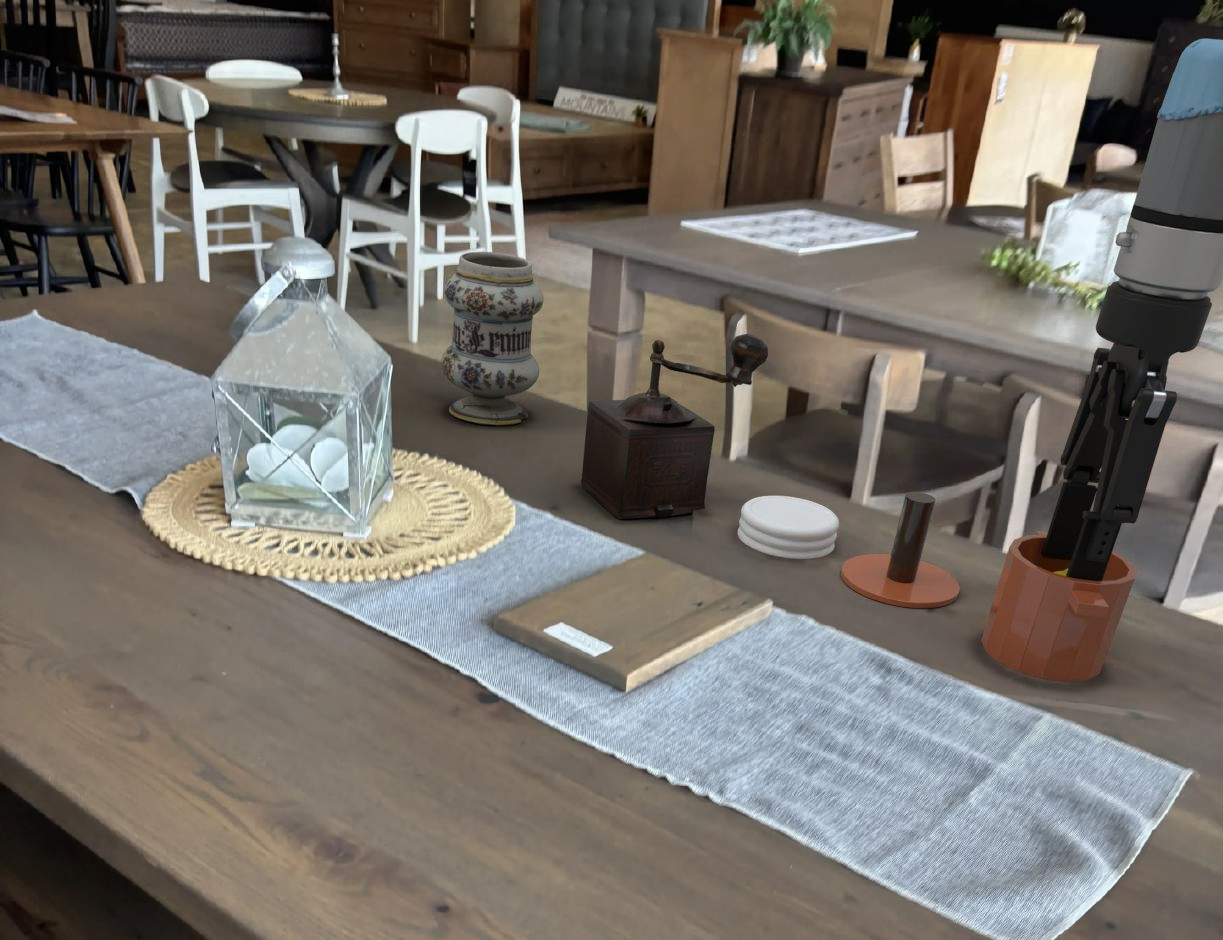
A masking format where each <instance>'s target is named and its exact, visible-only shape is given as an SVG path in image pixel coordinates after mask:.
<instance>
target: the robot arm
mask: <svg viewBox="0 0 1223 940" xmlns="http://www.w3.org/2000/svg"><path fill="white" fill-rule="evenodd" d="M1156 118H1157V120H1156V121H1157V122H1156V125H1155V128H1154V131H1153V135H1152V139H1151V142H1150V145H1149V150H1148V153H1147V156H1146V160H1145V164H1144V167H1143V170H1142V174H1141V178H1140V181H1139V185H1138V188H1137V192H1136V196H1135V199H1134V202H1133V204H1132V208H1131V211H1130V214H1129V218H1128V222H1127V224H1126V229H1125V231H1120V232H1118V233H1117V234H1116V238H1115V245H1116V246H1118V247H1119V251H1118V254H1117V257H1116V261H1115V263H1114V266H1113V272H1114V274H1115V275H1116V277H1118V278H1119V279H1118V280H1116V281H1113V282H1111V283H1110V285H1108V286H1107V288H1106V291H1105V295H1104V297H1103V300H1102V305H1101V307H1100V310H1099V314H1098V316H1097V317H1098V318H1097V320H1096V324H1095V331H1096V334H1097V335H1098V336H1099V337H1100V338H1102V339H1104V340H1106V341H1108V342H1110V343H1113V344H1112V346H1111V348H1107V347H1106V348H1105V347H1097V348H1096V349H1095V351H1094V353H1093V360H1092V362H1091V363H1092V364H1091V368H1090V372H1089V377H1088V379H1087V382H1086V385H1085V388H1084V391H1083V393H1082V397H1081V400H1080V401H1079V405H1078V408H1077V411H1076V413H1075V415H1074V419H1073V422H1072V425H1071V428H1070V431H1069V433H1068V437H1067V439H1066V442H1065V445H1064V448H1063V452H1062V454H1061V456H1060V459H1059V460H1060V461H1059V462H1060V465H1061V466H1064V469H1063V473H1062V475H1063V480H1066V481H1063V482H1062V486H1061V488H1060V492H1059V496H1058V499H1057V502H1056V504H1055V508H1054V511H1053V514H1052V517H1051V521H1050V523H1049V527H1048V531H1047V532H1048V534H1047V537H1046V540H1045V543H1044V546H1043V550H1042V553H1041V555H1042V556H1043V557H1045V558H1054V559H1063V560H1071V562H1070V565H1069V568H1068V571H1067V574H1066V576H1067V577H1071V578H1075V579H1083V580H1091V581H1102V579H1103V577H1104V574H1105V571H1106V568H1107V565H1108V562H1109V559H1110V556H1111V553H1112V551H1114V547H1115V544H1116V542H1117V539H1118V536H1119V533H1120V530H1121V527H1122V525H1123V524H1132V525H1133V524H1135V523H1136V522H1137V520H1138V518H1139V514H1140V511H1141V507H1142V504H1143V500H1144V497H1145V494H1146V491H1147V487H1148V484H1149V481H1150V477H1151V474H1152V471H1153V468H1154V465H1155V461H1156V458H1157V454H1158V452H1159V449H1160V445H1161V441H1162V439H1163V435H1164V432H1165V428H1166V425H1167V423H1168V420H1169V418H1170V416H1171V414H1172V411H1173V409H1174V407H1175V406H1176V403H1177V400H1178V399H1177V398H1178V394H1177V393H1178V392H1177V391H1175V390H1174V391H1173V390H1165V389H1166V385H1167V380H1168V376H1167V372H1168V367H1169V363H1170V362H1169V360H1170V358H1171V357H1172V356H1173V355H1175V354H1177V353H1181V354H1184V353H1188V352H1191V351H1193V350H1195V349H1196V348H1197V347H1198V346H1199V344H1200V341H1201V338H1202V334H1203V331H1204V330H1205V326H1206V323H1207V321H1208V318H1209V315H1210V312H1211V309H1212V306H1213V302H1211V297H1210V296H1208V295H1209V293H1212V292H1214V291H1216V290H1217V289H1219V288H1220V287H1221V284H1222V281H1223V39H1215V38H1199V39H1197V40H1195V41H1193V42H1191V43H1189V45H1187V46H1186V47H1185V49H1184V50H1183V51H1182V53H1181V55H1180V57H1179V58H1178V62H1177V63H1176V66H1175V69H1174V72H1173V73H1172V76H1171V79H1170V81H1169V85H1168V86H1167V90H1166V93H1165V95H1164V98H1163V102H1162V104H1161V107H1160V109H1159V110H1158V113H1157V116H1156ZM1089 483H1092V484H1089ZM1094 484H1097V486H1096V485H1094ZM1092 506H1093V507H1092ZM1091 510H1092V511H1091Z"/></svg>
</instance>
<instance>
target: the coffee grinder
mask: <svg viewBox="0 0 1223 940" xmlns="http://www.w3.org/2000/svg"><path fill="white" fill-rule="evenodd" d="M651 347H652V348H651V349H652V352H651V354H650V356H649V361H650V362H651V372H650V381H649V388H648V389H647V391H645V392H640V393H635V394H633V395H631V396H628V397H626V398H625V399H608V400H589V402H588V405H587V416H586V424H585V425H586V427H585V436H584V449H583V458H582V459H583V460H582V469H581V470H582V472H581V479H580V485H581V487H582V488H583V489H584V491H585V492H586V493H587V494H588V495H589V496H591V497H592V498H593V499H594V500H595V501H596V502H597V503H599V504H600V505H601V506H602V507H603V508H604V509H605V510H607V511H608V512H609V513H610V514H611V515H613V516H614V517H615V518H617V519H619V520H636V519H637V520H638V519H651V518H655V519H657V518H667V517H673V516H679V515H689V514H693V513H694V511H695V510H704V509H706V506H705V501H706V492H707V484H708V478H709V471H710V464H711V457H712V449H713V443H714V438H715V437H714V436H715V432H716V431H715V430H716V429H715V425H714V424H712V423H711V422H709V421H708V420H706V419H705V418H703V417H702V416H700V415H698V414H697V413H695V412H693V410H691V409H689V408H687V407H686V406H684V405H682V404H680V403H678V401H676V400H675V399H674V398H672V397H671V396H669V395H667V394H664V393H661V392H660V376H661V369H662V368H661V367H662V366H663V367H664V368H666V369H667V370H669V371H672V372H678V373H681V374H682V373H683V374H687V375H688V374H689V375H692V376H696V377H697V376H698V377H701V378H704V379H708V380H711V381H714V382H717V383H719V384H732V386H733V387H734V388H736V387H737V386H742V385H747V386H751V385H752V383H753V380H752V378H753V376H752V375H753V373H754V371H756V370H757V368H759V367H760V366H761V365H763V364H765V363H766V361H767V360H768V357H769V348H768V347H769V346H767V345H766V343H765V342H764V341H763V339H761V338H760V337H758V336H757V335H753V334H750V333H743V334H739V335H736V336H735V337H734V338H733V339H732V341H731V343H730V352H731V356H732V364H731V367H730V368H729V370H728V371H726V373H725V374H722V373H719V372H715V371H712V370H709V369H707V368H703V367H700V366H696V365H691V364H686V363H681V362H673V361H670V360H667V359H665V356H664V354H663V353H664V350H665V347H666V346H665V343H664V341H662V340H660V339H655V340H654V342H653V343H652V345H651Z"/></svg>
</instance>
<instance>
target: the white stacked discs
mask: <svg viewBox="0 0 1223 940" xmlns="http://www.w3.org/2000/svg"><path fill="white" fill-rule="evenodd" d="M740 515H741V516H740V518H739V520H738V523H739V527H738V529H737V537H738V539H739V540H740V541H741V542H742V543H743V544H745V545H746V546H748V547H749V548H751V549H753V550H755V551H758V552H761V553H762V554H767V555H771V556H773V557H779V558H785V559H792V560H811V559H818V558H823V557H826V556H828V555H829V554H831V553H832V552H833V551H834V549H835V547H836V545H835V543H836V540H837V537H838V533H837V531H838V530H839V527H840V521H839V518H838V516H837V515H836V514H835V512H834V511H832V510H831V509H830V508H828V507H826V506H824V505H822V504H820V503H818V502H815V501H811V500H808V499H804V498H801V497H800V498H799V497H795V496H789V495H788V496H787V495H762V496H757V497H754V498H751V499H749V500H747V501H746V502H745V503H744V504H743V505H742V507H741V509H740Z"/></svg>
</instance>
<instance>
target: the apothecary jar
mask: <svg viewBox="0 0 1223 940" xmlns="http://www.w3.org/2000/svg"><path fill="white" fill-rule="evenodd" d="M443 294H444V295H443V296H444V299H445V300H446V302H447V303H448V305H449V306H450V307H452V309H453V322H452V323H453V327H452V341H451V345H449V347H447V348H446V350H444V352H443V354H442V356H441V359H440V366H441V367H440V368H441V370H442V373H443V374H444V376H445V378H447V380H448V381H449V382H450V383H451V384H453V385H454V386H455V387H457V388H459V389H461V390H462V391H464V392H467V393H469V394H471V395H469V396H466V397H465V396H464V397H462V398H461V399H457V400H455V401H453V402H452V403H451V404H450V406H449V407H448V411H449V413H450V415H451V416H453V417H454V418H456V419H458V420H462V421H464V422H466V423H471V424H478V425H484V426H512V425H517V424H520V423H522V420H527V419H528V417H529V413H528V411H527V410H526V409H525V408H524V407H523V406H521V405H519V404H517V403H516V402H515V401H513V400H511V399H509V398H506V397H508V396H509V397H510V396H514V395H517V394H521V393H524V392H526V391H528V390H530V388H532V387H533V386H534V385H535V384H536V383H537V381H538V379H539V377H540V366H539V363H538V361H537V359H536V358H535V356H534V355H533V354H532V353H531V352H532V351H531V350H532V328H533V320H534V316H535V315H536V314H538V312H540V311H541V309H542V308H543V305H544V301H545V297H544V293H543V291H542V288H541V287H540V286H539V284H538V283H537V282H536V281H535V280H534V276H533V265H532V262H531V261H530V260H528V259H526V258H524V257H521V256H517V255H513V254H508V253H502V252H495V251H494V252H492V251H470V252H465V253H462V254H461V255H459V259H458V266H457V268H456V272H455V273H454V274H453V275H451V276H450V277H449V278H448V279H447V280H446V282H445V284H444V288H443Z"/></svg>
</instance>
